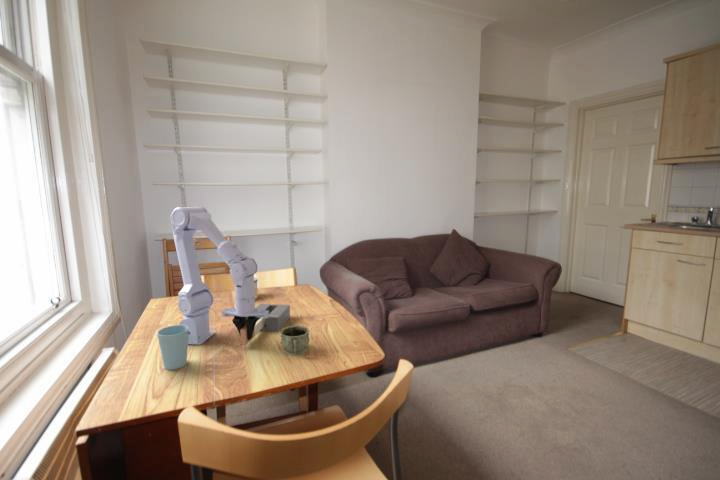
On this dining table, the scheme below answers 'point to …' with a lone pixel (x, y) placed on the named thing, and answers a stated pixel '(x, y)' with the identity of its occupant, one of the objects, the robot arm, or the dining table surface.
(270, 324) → the dispenser
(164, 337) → the cup
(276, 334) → the dining table surface
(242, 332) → the cream pillar on pink
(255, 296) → the teacup with lid
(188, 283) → the robot arm
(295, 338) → the vessel
